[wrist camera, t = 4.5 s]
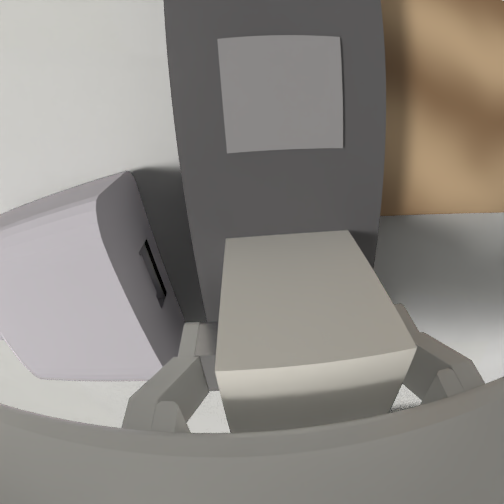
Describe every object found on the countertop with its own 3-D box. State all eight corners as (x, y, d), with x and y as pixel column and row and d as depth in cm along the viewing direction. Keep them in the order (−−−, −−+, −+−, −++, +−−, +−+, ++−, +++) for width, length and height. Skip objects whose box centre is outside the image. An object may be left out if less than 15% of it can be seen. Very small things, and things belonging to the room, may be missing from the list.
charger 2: (227, 221, 13) (214, 370, 6) (337, 214, 13) (417, 347, 6) (238, 316, 15) (238, 460, 9) (330, 308, 15) (372, 444, 9)
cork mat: (356, -40, 8) (362, -46, 8) (504, 7, 8) (513, 6, 8) (364, 209, 14) (369, 216, 14) (496, 206, 14) (505, 212, 14)
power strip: (176, -122, 6) (161, -162, 2) (327, -125, 5) (348, -163, 2) (227, 366, 19) (225, 416, 16) (336, 357, 19) (349, 404, 16)
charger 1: (-44, 231, 14) (134, 165, 13) (13, 336, 19) (188, 322, 18) (-86, 268, 10) (89, 204, 9) (-13, 380, 15) (176, 389, 14)
